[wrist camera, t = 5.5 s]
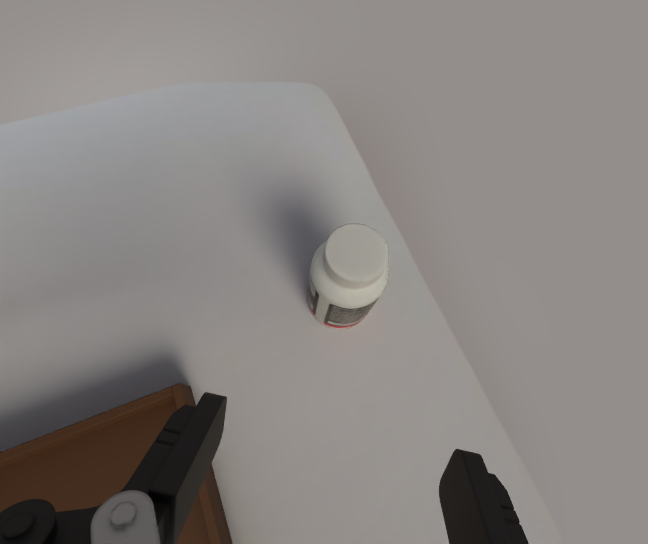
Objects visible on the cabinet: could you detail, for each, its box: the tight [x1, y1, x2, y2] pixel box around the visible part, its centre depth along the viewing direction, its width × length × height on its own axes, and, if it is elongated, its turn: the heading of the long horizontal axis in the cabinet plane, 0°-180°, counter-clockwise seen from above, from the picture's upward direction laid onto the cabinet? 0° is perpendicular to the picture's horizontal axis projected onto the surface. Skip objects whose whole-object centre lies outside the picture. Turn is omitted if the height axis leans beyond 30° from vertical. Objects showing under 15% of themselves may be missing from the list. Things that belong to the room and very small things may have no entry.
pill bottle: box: [308, 224, 388, 329], centre depth 26 cm, size 5×5×10 cm
